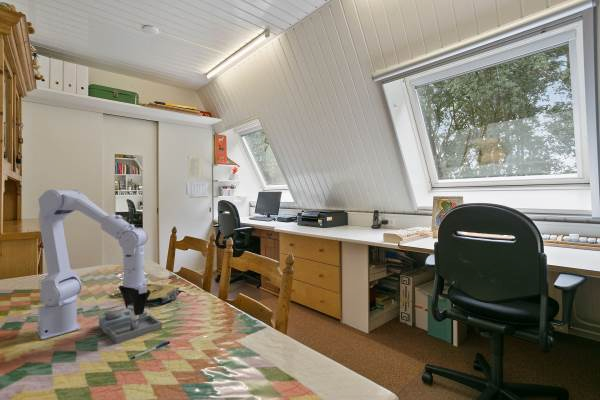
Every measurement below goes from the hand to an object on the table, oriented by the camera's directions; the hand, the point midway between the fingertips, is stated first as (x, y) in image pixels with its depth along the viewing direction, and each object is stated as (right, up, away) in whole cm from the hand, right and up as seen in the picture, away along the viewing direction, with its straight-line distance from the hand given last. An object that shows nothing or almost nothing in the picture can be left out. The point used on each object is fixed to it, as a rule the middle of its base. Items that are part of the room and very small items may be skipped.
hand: (134, 310), depth 93 cm
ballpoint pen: (+11, -7, -11) cm, 17 cm away
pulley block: (-11, -6, +30) cm, 32 cm away
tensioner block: (-7, -6, +5) cm, 11 cm away
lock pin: (0, -6, 0) cm, 6 cm away
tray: (0, -6, 0) cm, 6 cm away
